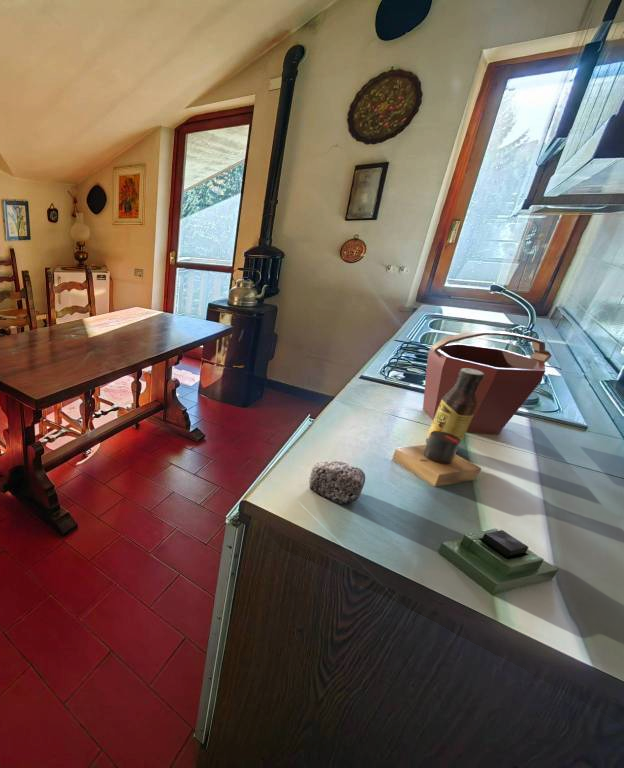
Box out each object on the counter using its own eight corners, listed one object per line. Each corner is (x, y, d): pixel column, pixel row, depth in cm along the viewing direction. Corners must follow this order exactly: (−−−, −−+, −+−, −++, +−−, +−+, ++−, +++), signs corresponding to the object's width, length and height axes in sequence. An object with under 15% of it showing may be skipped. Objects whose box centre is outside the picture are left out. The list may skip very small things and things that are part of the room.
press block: (493, 540, 66) (503, 522, 64) (552, 580, 59) (564, 560, 57) (437, 552, 63) (445, 533, 62) (491, 595, 56) (502, 574, 55)
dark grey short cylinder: (417, 453, 85) (425, 431, 83) (433, 449, 87) (442, 428, 85) (440, 465, 81) (449, 443, 79) (457, 462, 82) (467, 439, 80)
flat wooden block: (430, 454, 91) (434, 442, 89) (476, 479, 82) (481, 467, 80) (391, 459, 88) (396, 447, 87) (434, 486, 79) (439, 473, 78)
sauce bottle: (421, 438, 98) (449, 363, 90) (452, 444, 95) (484, 368, 87) (428, 450, 92) (458, 372, 85) (461, 457, 90) (495, 377, 82)
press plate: (497, 538, 62) (502, 529, 61) (524, 555, 58) (529, 546, 58) (480, 541, 61) (484, 533, 60) (506, 559, 58) (511, 550, 57)
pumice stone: (329, 485, 83) (294, 481, 79) (345, 454, 81) (310, 448, 77) (372, 517, 74) (335, 514, 70) (391, 482, 72) (354, 478, 68)
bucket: (511, 416, 110) (551, 330, 100) (536, 452, 92) (588, 352, 83) (405, 396, 122) (432, 317, 112) (411, 424, 104) (443, 334, 95)
